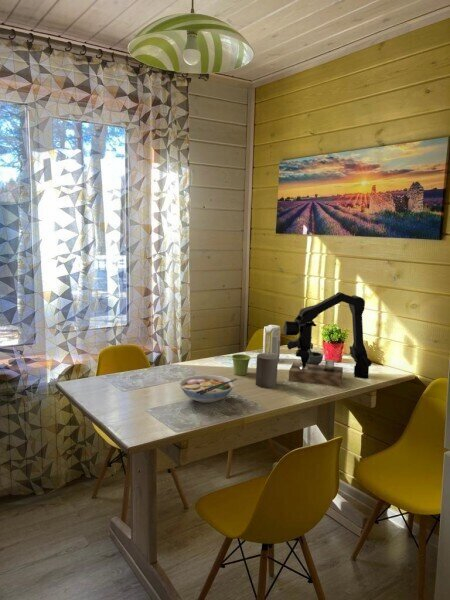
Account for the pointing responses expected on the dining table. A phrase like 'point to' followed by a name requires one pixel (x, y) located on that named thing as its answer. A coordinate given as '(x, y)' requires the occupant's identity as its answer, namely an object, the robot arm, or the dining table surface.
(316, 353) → the mortar and pestle
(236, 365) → the plant pot
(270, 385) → the pillar candle
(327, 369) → the peg near
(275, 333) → the juice carton
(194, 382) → the ramen bowl
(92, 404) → the dining table surface
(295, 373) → the walnut block
